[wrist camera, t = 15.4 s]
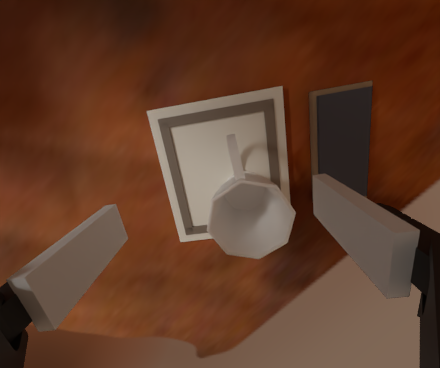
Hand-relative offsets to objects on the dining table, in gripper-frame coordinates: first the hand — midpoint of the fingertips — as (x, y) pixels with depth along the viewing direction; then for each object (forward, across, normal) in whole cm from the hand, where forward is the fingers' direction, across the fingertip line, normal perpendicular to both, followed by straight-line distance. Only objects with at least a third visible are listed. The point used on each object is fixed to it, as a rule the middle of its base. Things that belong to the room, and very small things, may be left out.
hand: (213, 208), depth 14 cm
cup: (+10, +2, -1) cm, 10 cm away
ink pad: (+10, +13, 0) cm, 17 cm away
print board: (+11, 0, -1) cm, 11 cm away
